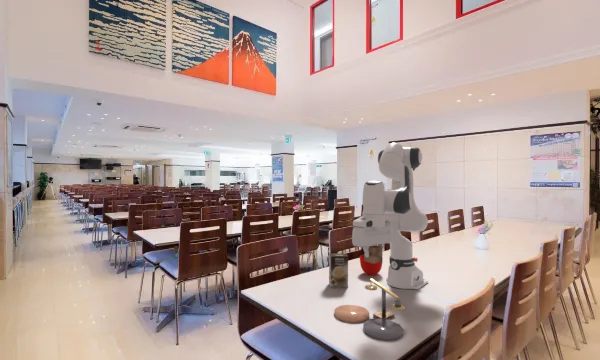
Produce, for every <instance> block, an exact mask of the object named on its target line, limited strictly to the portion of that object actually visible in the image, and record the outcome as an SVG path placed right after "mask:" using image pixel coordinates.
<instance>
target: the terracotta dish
mask: <svg viewBox="0 0 600 360" xmlns="http://www.w3.org/2000/svg"><path fill="white" fill-rule="evenodd" d="M333 311H334V313H333V315H334V316H335V318H336V319H338V320H339V321H342V322H345V323H351V324H355V323H364V322H366V321H367V320H369V319H370V311H369V310H368V309H367V308H365V307H363V306H360V305H356V304H343V305H339V306H337V307H335V308H334V310H333Z"/></svg>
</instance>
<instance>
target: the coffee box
mask: <svg viewBox="0 0 600 360" xmlns="http://www.w3.org/2000/svg"><path fill="white" fill-rule="evenodd" d="M328 261H329V263H328V264H329V265H328V267H329V269H328V270H329V271H328V279H329V280H328V285H329V287H330V288H349V255H348V254H347V253H329V259H328Z"/></svg>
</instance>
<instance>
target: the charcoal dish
mask: <svg viewBox="0 0 600 360" xmlns="http://www.w3.org/2000/svg"><path fill="white" fill-rule="evenodd" d="M362 327H363V328H362V329H363V332H364V334H366V335H367V336H369V337H370V338H372V339H376V340H379V341H388V342H389V341H396V340H399V339H401V338H402V337H403V336H404V329H403V327H402V325H400V323H398V322H397V321H393V320H391V319H389V320H387V319H376V318H369V319H368V320H366V321H364V322H363V326H362Z"/></svg>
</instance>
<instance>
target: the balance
mask: <svg viewBox="0 0 600 360" xmlns="http://www.w3.org/2000/svg"><path fill="white" fill-rule="evenodd" d="M369 281H370V283H371V284H366V285H364V289H366V291H367V290H368V291H377V290H378V288H379V289H380V290H381V310H380V311H377V312H375V313H373V314H372V317H373V319H387V320H391V319H393V318H395V317H396V315H395V313H393V312H391V311H388V310H387V294H388V295H389V296H391V297H392V298H394V299H395V300H394V303H391V305H390V308H391V309H392V310H394V311H404V310H405V309H406V307H405V305H404V304H402V300H400V297H399V295H397V294H396V293H394V292H392V291H391V290H389V289H388V288H387V287H385V286H384V285H382V284H381V283H380V282H378V281H376V280H375V279H374V278H370V279H369Z"/></svg>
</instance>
